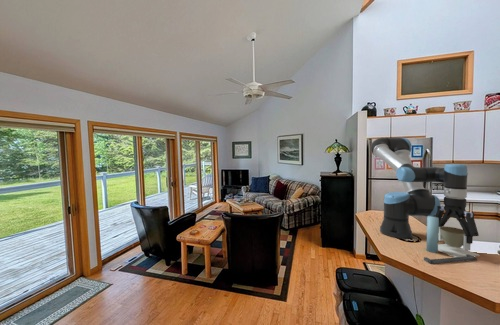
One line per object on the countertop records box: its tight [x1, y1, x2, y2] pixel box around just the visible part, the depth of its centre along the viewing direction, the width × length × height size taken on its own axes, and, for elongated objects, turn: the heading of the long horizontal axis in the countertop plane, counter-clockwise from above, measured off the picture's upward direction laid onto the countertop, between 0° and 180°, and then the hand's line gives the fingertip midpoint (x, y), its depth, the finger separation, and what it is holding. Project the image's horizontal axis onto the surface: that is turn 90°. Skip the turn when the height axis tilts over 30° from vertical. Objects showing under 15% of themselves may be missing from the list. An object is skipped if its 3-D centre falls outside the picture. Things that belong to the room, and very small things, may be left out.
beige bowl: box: [439, 226, 466, 248], centre depth 97 cm, size 10×10×7 cm
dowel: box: [425, 216, 439, 254], centre depth 97 cm, size 4×4×16 cm
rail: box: [423, 254, 478, 265], centre depth 89 cm, size 3×22×1 cm, turn 97°
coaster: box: [438, 243, 480, 258], centre depth 97 cm, size 12×12×1 cm
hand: (453, 244), depth 97 cm, fingers closed on beige bowl, 10 cm apart
